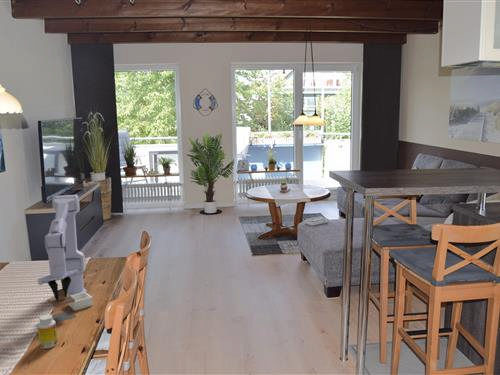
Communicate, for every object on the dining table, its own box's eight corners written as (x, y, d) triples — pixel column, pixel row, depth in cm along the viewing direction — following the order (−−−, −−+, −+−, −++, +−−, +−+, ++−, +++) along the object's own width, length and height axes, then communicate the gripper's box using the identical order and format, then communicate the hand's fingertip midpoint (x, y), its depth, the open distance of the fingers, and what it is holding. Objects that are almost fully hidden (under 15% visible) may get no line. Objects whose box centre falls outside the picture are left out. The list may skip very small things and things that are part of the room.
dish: (67, 305, 187) (67, 296, 186) (85, 300, 191) (85, 291, 191) (74, 311, 181) (73, 302, 180) (92, 306, 186) (92, 296, 185)
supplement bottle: (58, 346, 154) (55, 318, 152) (40, 350, 151) (36, 322, 150) (57, 339, 159) (54, 312, 157) (39, 343, 156) (36, 315, 155)
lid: (47, 301, 176) (46, 290, 175) (67, 295, 181) (66, 285, 180) (54, 307, 170) (52, 296, 169) (75, 301, 175) (73, 290, 174)
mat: (48, 316, 177) (48, 316, 177) (69, 310, 182) (69, 310, 182) (55, 323, 171) (55, 323, 171) (76, 317, 176) (76, 316, 176)
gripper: (40, 271, 165) (44, 306, 167) (80, 261, 174) (83, 295, 177) (34, 266, 170) (38, 300, 173) (73, 257, 180) (76, 290, 182)
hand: (60, 297), depth 175 cm, fingers closed on lid, 2 cm apart
